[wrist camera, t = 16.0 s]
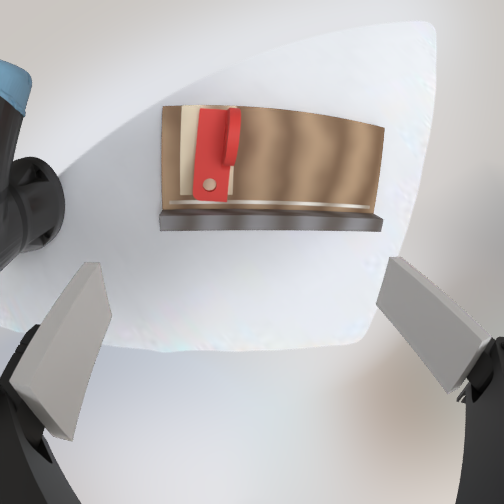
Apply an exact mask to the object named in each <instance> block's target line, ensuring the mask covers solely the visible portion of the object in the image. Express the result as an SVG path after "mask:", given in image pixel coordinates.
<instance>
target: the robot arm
mask: <svg viewBox="0 0 504 504" xmlns="http://www.w3.org/2000/svg"><path fill="white" fill-rule="evenodd" d="M31 87H32V79H31V76H30V75H29V73H28V72H26V71H25V70H24V69H22V68H20V67H18V66H16V65H13V64H11V63H9V62H6V61H3V60H0V271H1V270H2V269H3V268H4V267H5V266H6V265H7V264H9V263H10V262H11V261H12V260H13V259H14V258H15V257H16V256H17V255H18V254H20V253H25V252H29V251H33V250H37V249H40V248H42V247H44V246H45V245H46V244H48V243H49V242H50V241H51V240H52V239H53V238H54V237H55V236H56V235H57V233H58V231H59V230H60V227H61V225H62V222H63V217H64V207H65V205H64V195H63V190H62V187H61V184H60V181H59V179H58V177H57V175H56V173H55V172H54V170H53V169H52V168H51V167H50V166H49V165H48V164H47V163H46V162H44V161H43V160H41V159H39V158H35V157H25V158H21V159H18V160H15V161H13V158H14V153H15V148H16V144H17V140H18V135H19V132H20V128H21V124H22V120H23V117H25V113H26V112H25V109H26V105H27V101H28V98H29V94H30V91H31ZM376 305H377V306H378V307H379V309H380V310H381V311H382V312H383V313H384V314H385V315H386V317H387V318H388V319H389V320H390V321H391V323H392V324H393V325H394V326H395V327H396V329H397V330H398V331H399V332H400V334H401V335H402V336H403V337H404V338H405V340H406V341H407V342H408V343H409V345H410V346H411V347H412V348H413V350H414V351H415V352H416V353H417V355H418V356H419V357H420V358H421V360H422V361H423V362H424V364H425V365H426V366H427V367H428V369H429V370H430V371H431V373H432V374H433V375H434V377H435V378H436V379H437V381H438V382H439V383H440V385H441V386H442V387H443V389H444V390H445V391H446V393H447V394H449V393H451V392H453V391H455V390H457V389H458V388H459V387H460V386H461V385H462V383H463V382H464V380H465V379H466V378H467V379H468V380H469V383H468V384H467V385H466V387H465V388H464V390H463V391H462V392H461V393H460V395H459V396H458V397H457V402H459V400H460V399H461V398H462V397H463V396H464V395H466V396H465V397H464V398H463V400H462V401H461V402H462V403H466V424H465V425H466V426H465V442H464V454H463V463H462V470H461V478H460V483H459V489H458V494H457V499H456V503H455V504H504V337H498V338H497V339H496V340H494V339H493V338H492V336H491V335H490V334H489V333H488V332H487V331H486V330H485V329H484V328H483V327H482V326H480V324H479V323H478V322H476V320H475V319H473V318H472V317H471V316H470V315H469V314H468V313H467V312H466V311H465V310H464V309H463V308H461V307H460V306H459V305H458V304H457V303H456V302H455V301H454V300H453V299H451V298H450V297H449V296H448V295H447V294H446V293H445V292H443V291H442V290H441V289H440V288H439V287H438V286H436V285H435V284H434V283H433V282H432V281H430V280H429V279H428V278H427V277H425V276H424V275H423V274H422V273H421V272H419V271H418V270H417V269H416V268H414V267H413V266H412V265H411V264H409V263H408V262H407V261H406V260H404V259H403V258H402V257H389V261H388V265H387V269H386V272H385V276H384V279H383V283H382V286H381V289H380V292H379V296H378V299H377V302H376ZM111 318H112V313H111V310H110V306H109V302H108V298H107V294H106V289H105V285H104V280H103V275H102V271H101V266H100V263H84V264H83V265H82V266H81V268H80V269H79V270H78V272H77V273H76V274H75V276H74V277H73V278H72V280H71V281H70V282H69V284H68V285H67V287H66V288H65V289H64V291H63V292H62V294H61V295H60V296H59V298H58V299H57V301H56V302H55V304H54V305H53V307H52V308H51V310H50V311H49V313H48V314H47V316H46V317H45V319H44V320H43V322H42V324H41V325H37V324H36V325H35V326H33V327H32V328H31V329H30V330H29V331H28V332H26V334H25V335H24V337H23V339H22V340H21V342H20V345H18V347H17V349H16V351H15V353H14V354H13V355H12V357H11V359H10V361H9V362H8V364H7V366H6V368H5V370H4V372H3V374H2V376H1V377H0V504H81V502H80V501H79V500H78V498H77V496H76V494H75V493H74V492H73V490H72V488H71V486H70V485H69V483H68V481H67V480H66V478H65V476H64V474H63V472H62V471H61V469H60V467H59V465H58V463H57V461H56V459H55V457H54V455H53V453H52V451H51V449H50V447H49V445H48V442H47V441H46V439H45V438H44V436H43V431H44V428H46V429H47V430H48V431H49V432H50V434H51V435H52V436H53V437H57V438H60V439H64V440H68V441H73V436H74V432H75V429H76V425H77V421H78V417H79V413H80V409H81V406H82V402H83V399H84V395H85V392H86V388H87V385H88V382H89V379H90V376H91V373H92V370H93V367H94V364H95V361H96V358H97V355H98V352H99V350H100V347H101V344H102V341H103V339H104V336H105V333H106V331H107V328H108V326H109V323H110V321H111Z"/></svg>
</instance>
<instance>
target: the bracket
mask: <svg viewBox="0 0 504 504" xmlns="http://www.w3.org/2000/svg"><path fill="white" fill-rule="evenodd" d="M240 126H241V110H240V108H230V107H229V109H228V110H220V109H206V108H200V111H199V121H198V130H197V141H196V153H195V165H194V180H193V196H194V198H195V199H197V200H199V201H214V202H227V196H228V185H229V175H230V166H234V165H235V161H236V157H237V152H238V145H239V137H240ZM209 178H210V179H214V180H215V181H216V187H215V188H214V189H213V190H206V189H205V188H204V187H203V182H204V181H205V180H206V179H209Z"/></svg>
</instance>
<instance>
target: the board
mask: <svg viewBox="0 0 504 504" xmlns="http://www.w3.org/2000/svg"><path fill="white" fill-rule="evenodd" d="M229 107H230V108H240V110H241V126H240V137H239V145H238V152H237V157H236V161H235V165H234V166H230V175H229V185H228V196H227V202H214V201H199V200H197V199H195V198H194V196H193V180H194V165H195V153H196V141H197V130H198V121H199V111H200V108H206V109H220V110H228V109H229ZM384 130H385V128H383V127H379V126H375V125H371V124H366V123H362V122H357V121H352V120H347V119H342V118H337V117H331V116H326V115H320V114H313V113H306V112H299V111H291V110H282V109H272V108H260V107H245V106H222V105H185V106H163V111H162V151H161V166H162V207H163V210H162V212H161V214H160V215H159V223H160V231H198V230H318V231H371V232H381V229H382V224H383V219H382V218H380V217H378V216H377V215H375V214H373V213H374V207H375V201H376V195H377V189H378V182H379V175H380V167H381V159H382V150H383V141H384ZM203 187H204V188H205V189H206V190H213V189H214V188H215V187H216V181H215V180H214V179H210V178H209V179H206V180H205V181H204V182H203Z"/></svg>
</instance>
